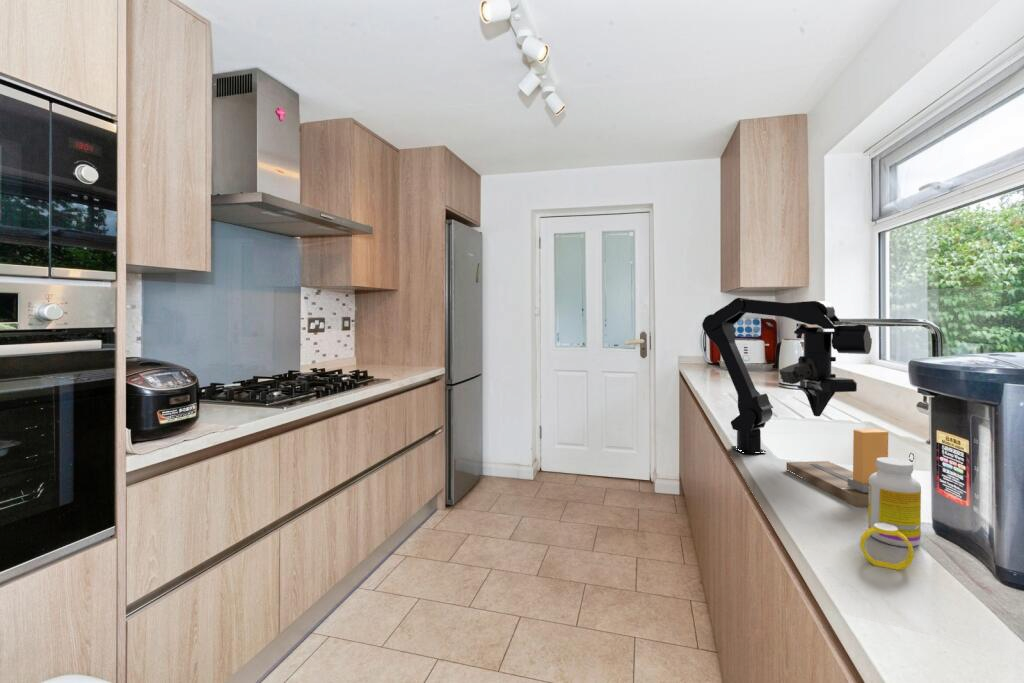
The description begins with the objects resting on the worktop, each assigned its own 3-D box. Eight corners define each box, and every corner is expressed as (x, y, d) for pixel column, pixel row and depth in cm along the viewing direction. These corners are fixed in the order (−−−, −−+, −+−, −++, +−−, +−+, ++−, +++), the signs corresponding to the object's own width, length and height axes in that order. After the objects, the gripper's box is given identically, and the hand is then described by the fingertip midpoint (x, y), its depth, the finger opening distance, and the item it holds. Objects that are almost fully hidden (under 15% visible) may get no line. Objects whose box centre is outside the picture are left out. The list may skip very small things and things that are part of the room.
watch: (863, 567, 69) (860, 527, 69) (860, 559, 72) (857, 520, 72) (916, 575, 66) (912, 532, 66) (911, 566, 69) (908, 525, 69)
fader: (847, 485, 96) (848, 428, 95) (876, 484, 96) (877, 428, 95) (862, 492, 92) (863, 433, 91) (893, 491, 92) (894, 432, 91)
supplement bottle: (931, 548, 74) (933, 467, 73) (888, 549, 74) (889, 467, 74) (897, 529, 81) (899, 455, 80) (858, 530, 81) (859, 455, 80)
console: (786, 470, 112) (786, 461, 112) (827, 469, 113) (827, 460, 113) (856, 506, 90) (857, 496, 90) (907, 505, 91) (908, 494, 91)
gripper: (763, 350, 125) (763, 409, 125) (810, 356, 106) (809, 425, 107) (804, 350, 125) (804, 408, 126) (859, 354, 106) (858, 423, 107)
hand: (816, 416), depth 116 cm, fingers closed
